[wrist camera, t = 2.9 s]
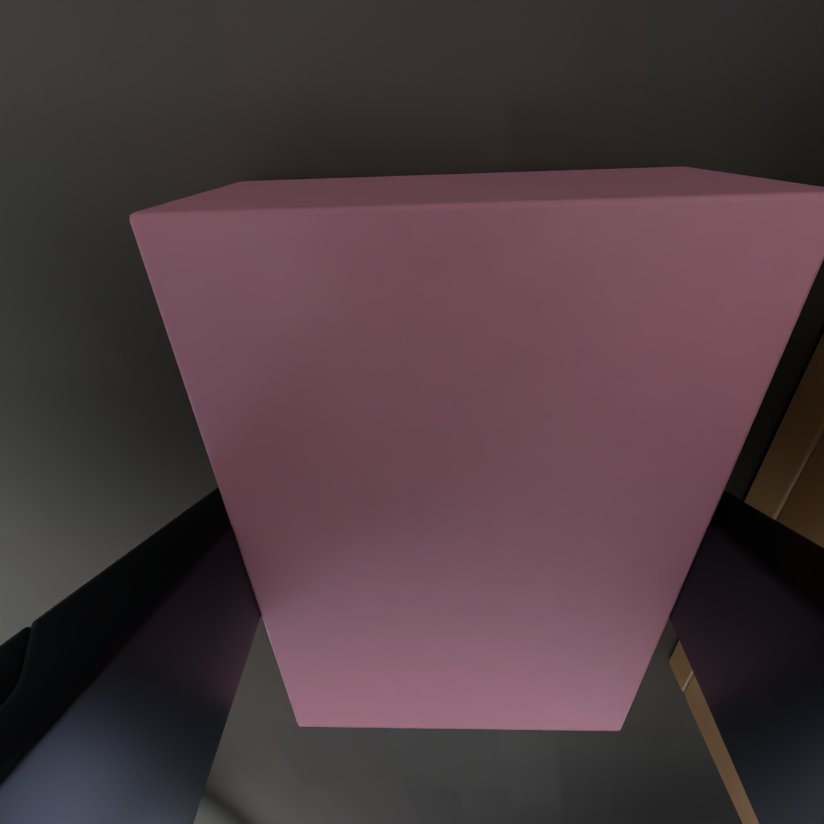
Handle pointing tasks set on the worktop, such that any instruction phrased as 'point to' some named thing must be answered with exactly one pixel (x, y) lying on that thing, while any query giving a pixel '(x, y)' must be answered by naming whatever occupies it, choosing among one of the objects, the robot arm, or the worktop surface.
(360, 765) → the worktop surface
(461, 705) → the pink rectangular block
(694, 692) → the box
